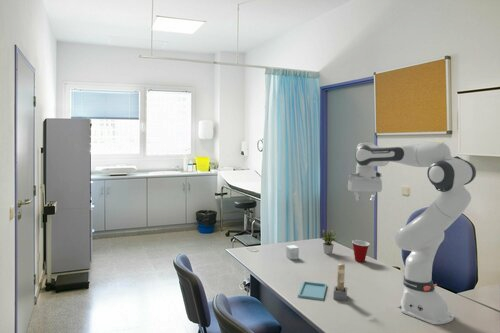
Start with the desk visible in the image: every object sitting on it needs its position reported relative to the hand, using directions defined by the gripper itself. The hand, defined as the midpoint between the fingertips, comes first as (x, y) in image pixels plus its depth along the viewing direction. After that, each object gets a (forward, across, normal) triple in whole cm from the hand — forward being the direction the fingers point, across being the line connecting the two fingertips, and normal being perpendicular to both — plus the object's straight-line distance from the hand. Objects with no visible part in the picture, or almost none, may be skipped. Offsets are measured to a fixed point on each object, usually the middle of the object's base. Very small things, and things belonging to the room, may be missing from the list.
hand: (365, 200), depth 198 cm
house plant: (+36, +21, +56) cm, 69 cm away
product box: (+38, -6, +59) cm, 70 cm away
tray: (+46, -25, +10) cm, 54 cm away
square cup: (+48, -18, -2) cm, 51 cm away
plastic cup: (+38, +30, +36) cm, 60 cm away
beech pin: (+46, -18, -2) cm, 50 cm away
